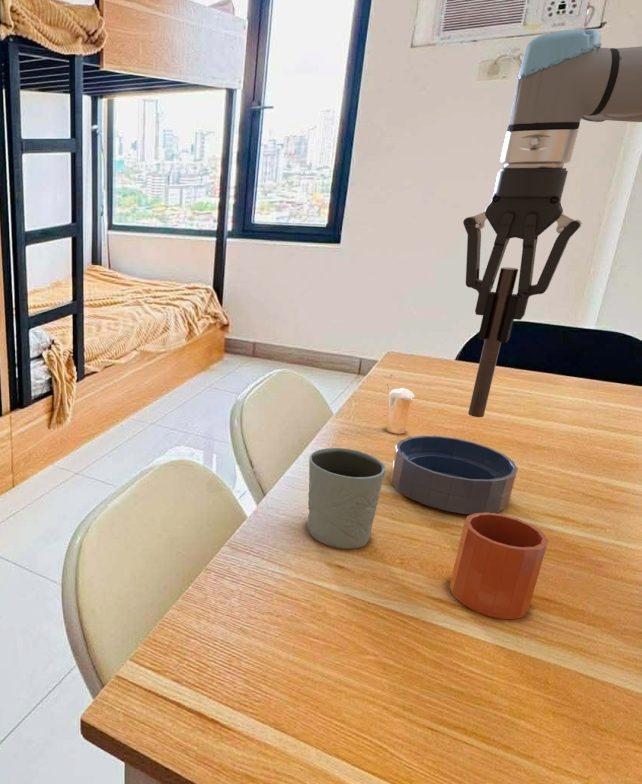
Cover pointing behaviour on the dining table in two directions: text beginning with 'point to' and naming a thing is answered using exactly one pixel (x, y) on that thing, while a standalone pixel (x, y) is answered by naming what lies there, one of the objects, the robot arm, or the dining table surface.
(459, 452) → the bowl
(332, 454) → the grey cup
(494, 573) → the pot
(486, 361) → the stirring stick
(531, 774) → the dining table surface
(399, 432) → the milkshake
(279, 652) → the dining table surface
